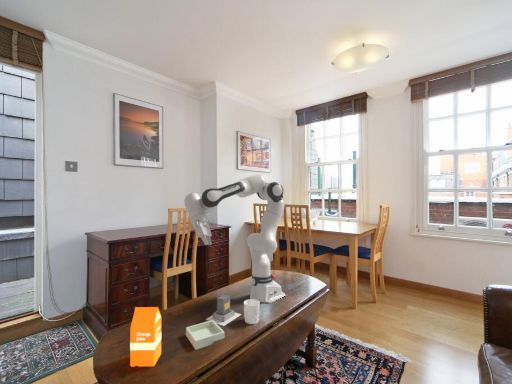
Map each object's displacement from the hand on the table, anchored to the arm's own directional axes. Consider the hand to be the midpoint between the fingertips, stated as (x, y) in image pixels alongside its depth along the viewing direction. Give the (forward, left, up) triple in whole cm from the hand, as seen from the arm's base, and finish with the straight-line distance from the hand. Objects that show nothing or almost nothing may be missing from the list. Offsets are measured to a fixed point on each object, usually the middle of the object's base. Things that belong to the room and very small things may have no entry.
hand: (208, 244), depth 138 cm
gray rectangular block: (-4, +11, -35) cm, 37 cm away
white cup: (-14, +22, -37) cm, 45 cm away
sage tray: (+11, +22, -36) cm, 44 cm away
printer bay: (-4, +11, -36) cm, 38 cm away
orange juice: (+35, +25, -37) cm, 56 cm away
